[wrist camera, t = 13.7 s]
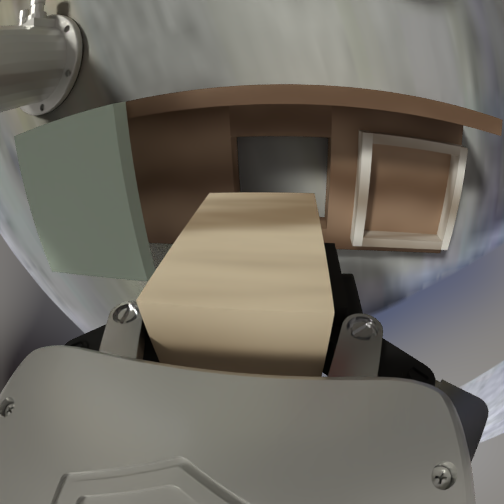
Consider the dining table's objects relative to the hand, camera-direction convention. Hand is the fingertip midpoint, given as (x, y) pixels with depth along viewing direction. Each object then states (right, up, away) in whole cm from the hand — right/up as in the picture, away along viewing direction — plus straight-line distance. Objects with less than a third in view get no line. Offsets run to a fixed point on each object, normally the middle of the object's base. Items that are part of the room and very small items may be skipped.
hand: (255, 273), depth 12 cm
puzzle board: (+2, +8, +14) cm, 16 cm away
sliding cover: (-14, +5, +8) cm, 16 cm away
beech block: (0, +2, +3) cm, 3 cm away
